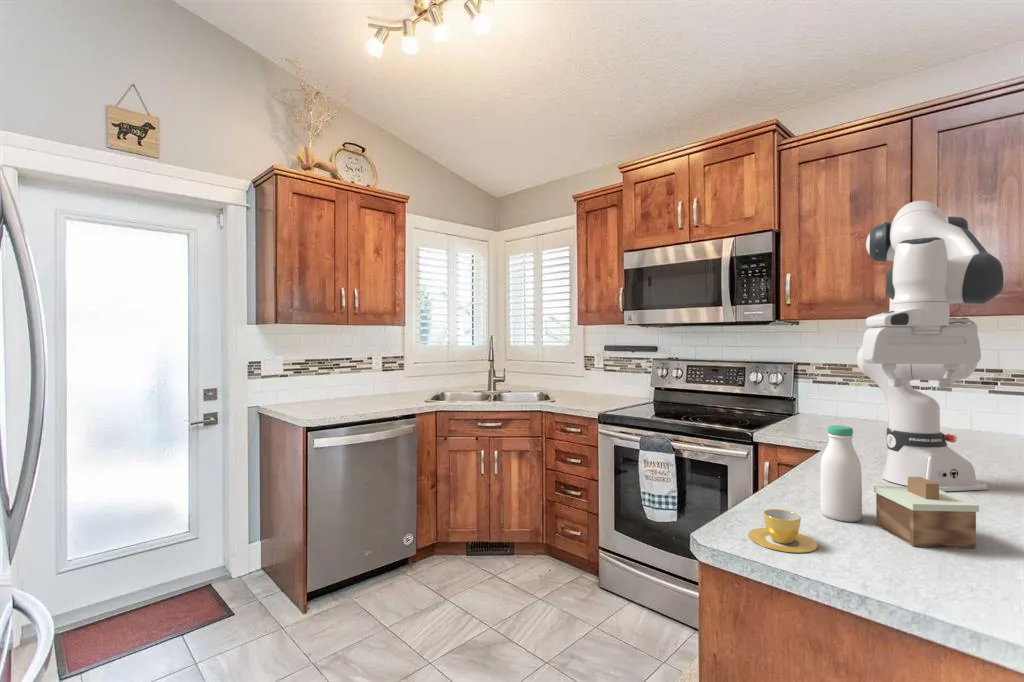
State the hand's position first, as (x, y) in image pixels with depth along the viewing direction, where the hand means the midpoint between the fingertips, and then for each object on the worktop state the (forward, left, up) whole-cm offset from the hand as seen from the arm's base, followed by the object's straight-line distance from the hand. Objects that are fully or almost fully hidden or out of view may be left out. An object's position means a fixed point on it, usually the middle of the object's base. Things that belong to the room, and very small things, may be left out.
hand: (920, 387), depth 100 cm
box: (0, 0, -30) cm, 30 cm away
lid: (0, 0, -23) cm, 23 cm away
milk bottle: (+10, -10, -30) cm, 33 cm away
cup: (+29, +4, -30) cm, 42 cm away
